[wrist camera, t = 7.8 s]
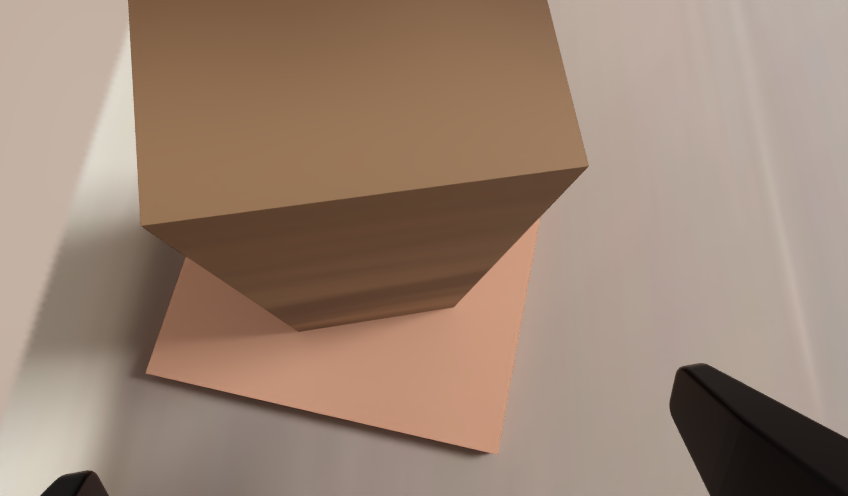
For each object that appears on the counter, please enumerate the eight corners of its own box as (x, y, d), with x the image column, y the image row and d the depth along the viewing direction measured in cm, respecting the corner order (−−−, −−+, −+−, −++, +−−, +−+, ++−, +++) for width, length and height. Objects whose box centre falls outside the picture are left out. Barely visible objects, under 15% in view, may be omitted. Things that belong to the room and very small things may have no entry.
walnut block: (453, 307, 18) (588, 166, 6) (298, 332, 18) (140, 226, 6) (427, 164, 19) (503, -174, 8) (281, 183, 19) (119, -152, 7)
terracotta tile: (493, 452, 18) (497, 454, 17) (153, 373, 17) (145, 373, 17) (550, 142, 20) (555, 135, 20) (256, 70, 20) (253, 61, 20)
